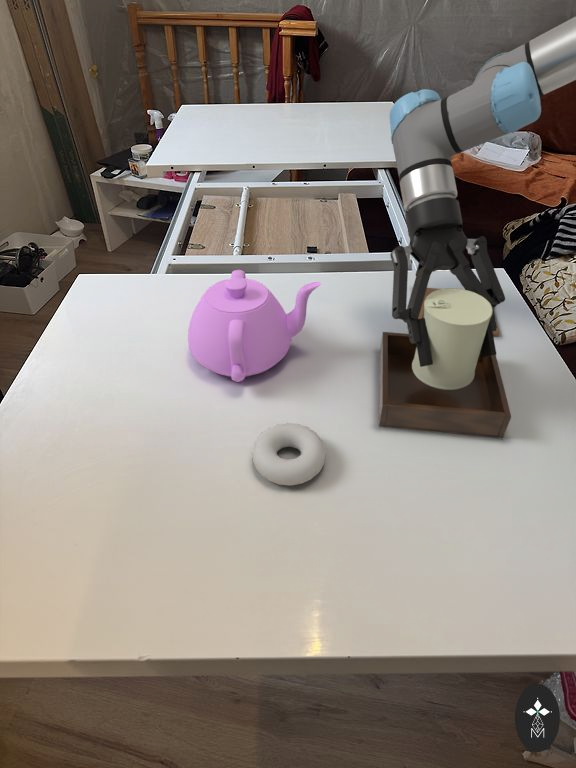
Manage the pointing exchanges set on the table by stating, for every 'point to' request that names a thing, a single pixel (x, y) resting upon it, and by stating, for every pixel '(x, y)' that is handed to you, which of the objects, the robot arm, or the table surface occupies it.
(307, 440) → the donut
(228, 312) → the teapot
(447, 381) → the can
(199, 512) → the table surface
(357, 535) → the table surface
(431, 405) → the tray
